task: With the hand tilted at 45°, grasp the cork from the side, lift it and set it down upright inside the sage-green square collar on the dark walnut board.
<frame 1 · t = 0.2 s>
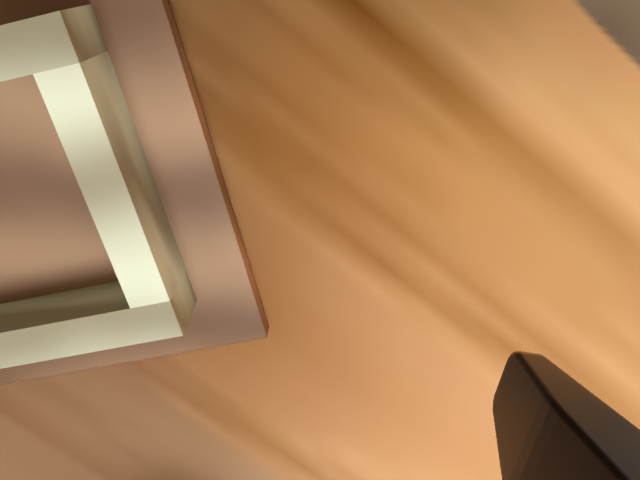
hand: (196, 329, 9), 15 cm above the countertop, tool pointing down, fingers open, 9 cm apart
shaker holder: (15, 191, 23), on the countertop
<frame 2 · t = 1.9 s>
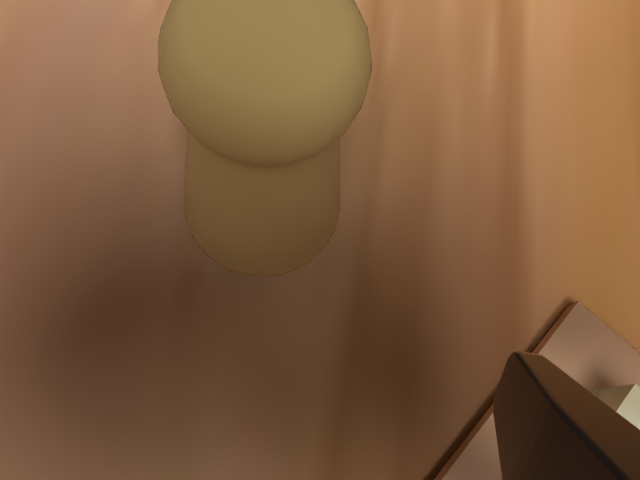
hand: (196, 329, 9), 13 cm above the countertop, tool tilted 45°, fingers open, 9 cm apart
cork: (262, 203, 24), on the countertop
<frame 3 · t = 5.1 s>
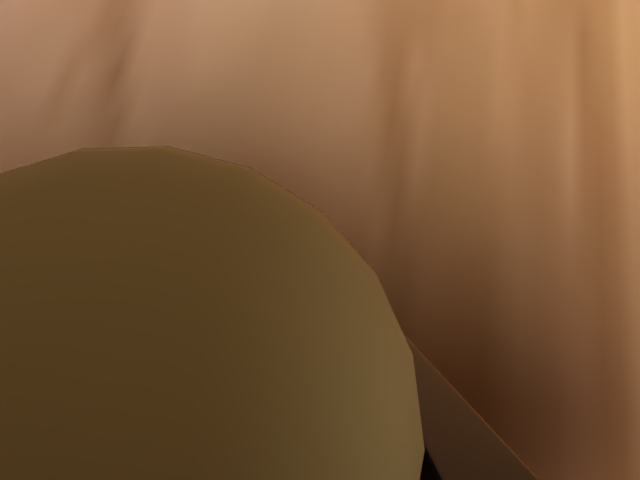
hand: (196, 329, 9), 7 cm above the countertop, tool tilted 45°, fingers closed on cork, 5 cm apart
cork: (210, 437, 14), on the countertop, touching gripper
when the fingers open (9 cm above the countertop, at t = 9.5 s): cork drops 1 cm, resting on shaker holder.
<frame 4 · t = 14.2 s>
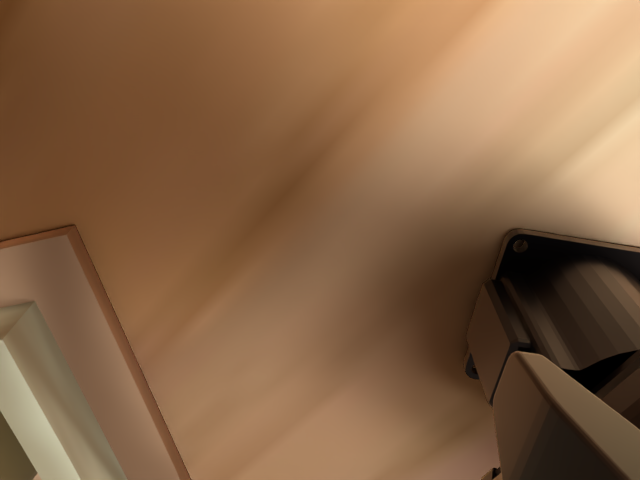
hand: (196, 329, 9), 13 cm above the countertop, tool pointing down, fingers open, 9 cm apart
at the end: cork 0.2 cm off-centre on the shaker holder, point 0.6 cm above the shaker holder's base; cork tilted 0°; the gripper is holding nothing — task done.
